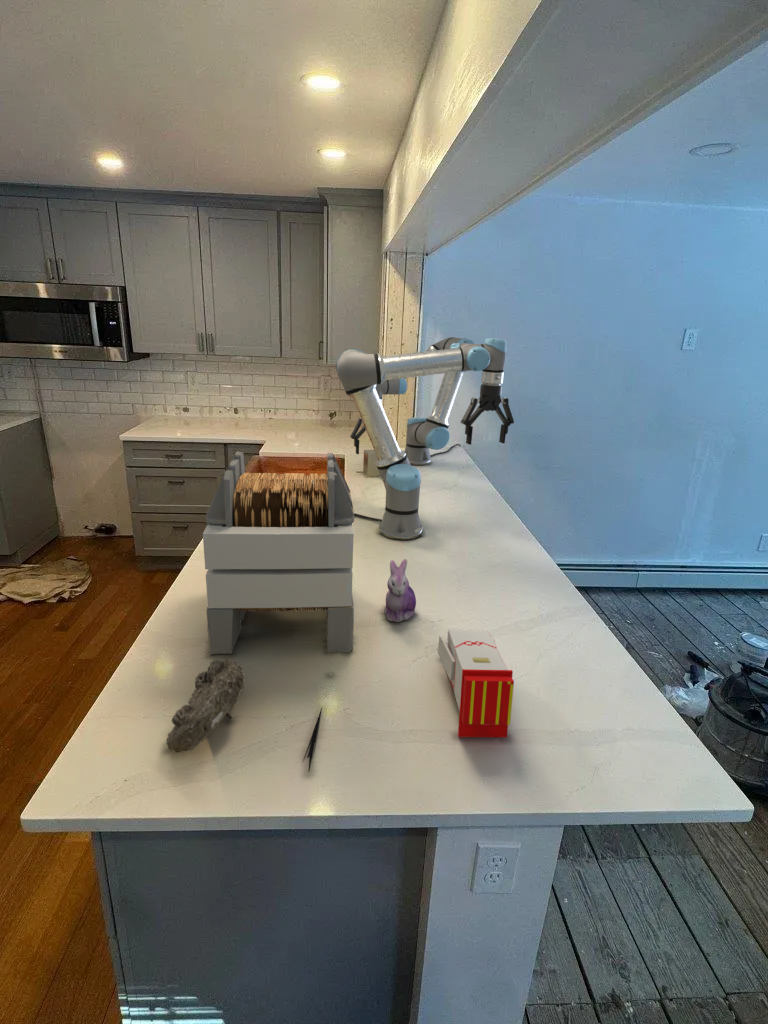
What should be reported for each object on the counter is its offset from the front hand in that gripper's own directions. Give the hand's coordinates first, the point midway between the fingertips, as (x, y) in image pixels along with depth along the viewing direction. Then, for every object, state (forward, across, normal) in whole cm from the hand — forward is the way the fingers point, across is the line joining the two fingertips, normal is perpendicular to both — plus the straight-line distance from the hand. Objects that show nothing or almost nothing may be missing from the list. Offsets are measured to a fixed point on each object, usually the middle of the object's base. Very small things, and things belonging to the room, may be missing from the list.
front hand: (485, 443), depth 207 cm
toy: (+30, -49, -94) cm, 110 cm away
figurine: (+30, -53, -60) cm, 86 cm away
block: (+30, -23, +66) cm, 76 cm away
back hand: (+19, -23, +66) cm, 72 cm away
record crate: (+30, -82, -54) cm, 103 cm away
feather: (+30, -81, -94) cm, 128 cm away
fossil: (+30, -101, -88) cm, 137 cm away
